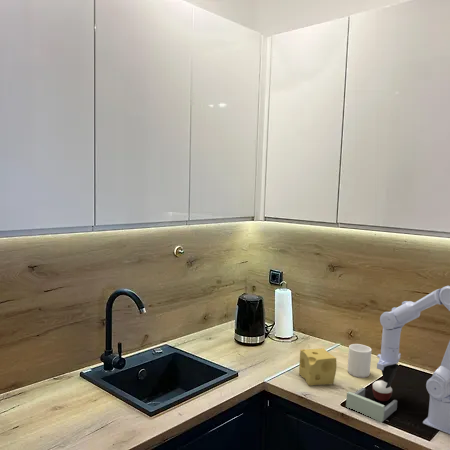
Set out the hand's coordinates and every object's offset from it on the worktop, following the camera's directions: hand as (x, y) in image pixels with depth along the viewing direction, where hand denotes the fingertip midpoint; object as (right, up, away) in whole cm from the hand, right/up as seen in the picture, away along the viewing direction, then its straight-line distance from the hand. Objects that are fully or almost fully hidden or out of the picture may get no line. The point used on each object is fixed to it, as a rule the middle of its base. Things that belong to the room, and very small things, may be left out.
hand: (387, 383), depth 148 cm
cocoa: (-3, -5, -2) cm, 6 cm away
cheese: (-22, -3, +12) cm, 25 cm away
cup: (-4, -3, +20) cm, 21 cm away
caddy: (-8, -5, -8) cm, 13 cm away
